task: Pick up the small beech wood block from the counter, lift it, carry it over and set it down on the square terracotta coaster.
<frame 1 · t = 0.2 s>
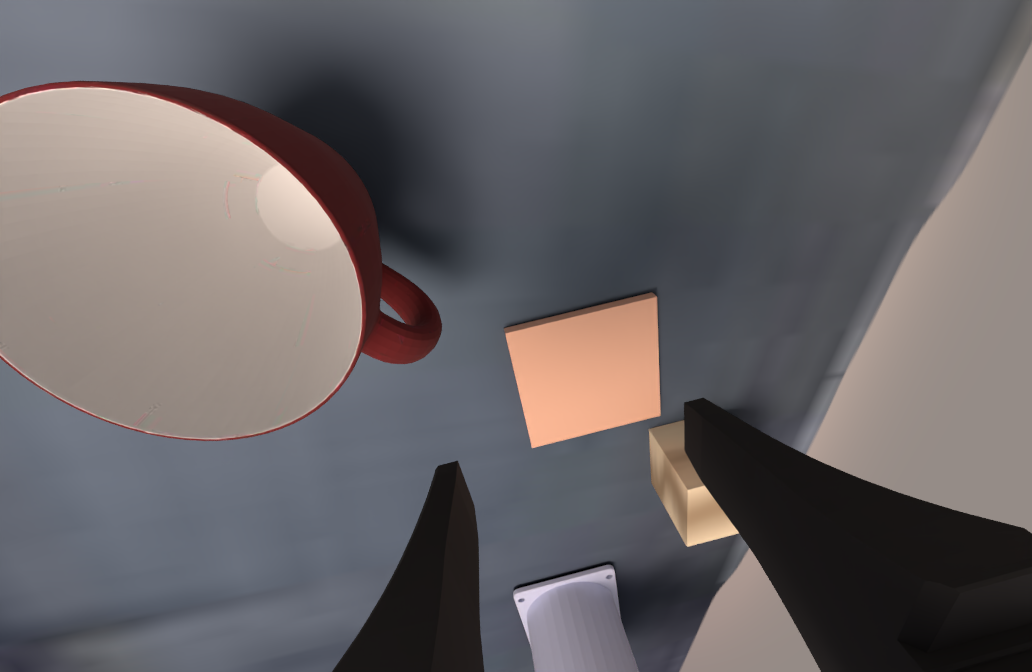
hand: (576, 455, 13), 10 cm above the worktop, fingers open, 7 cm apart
block: (685, 447, 28), on the worktop
coaster: (586, 372, 24), on the worktop
mug: (337, 220, 18), on the worktop
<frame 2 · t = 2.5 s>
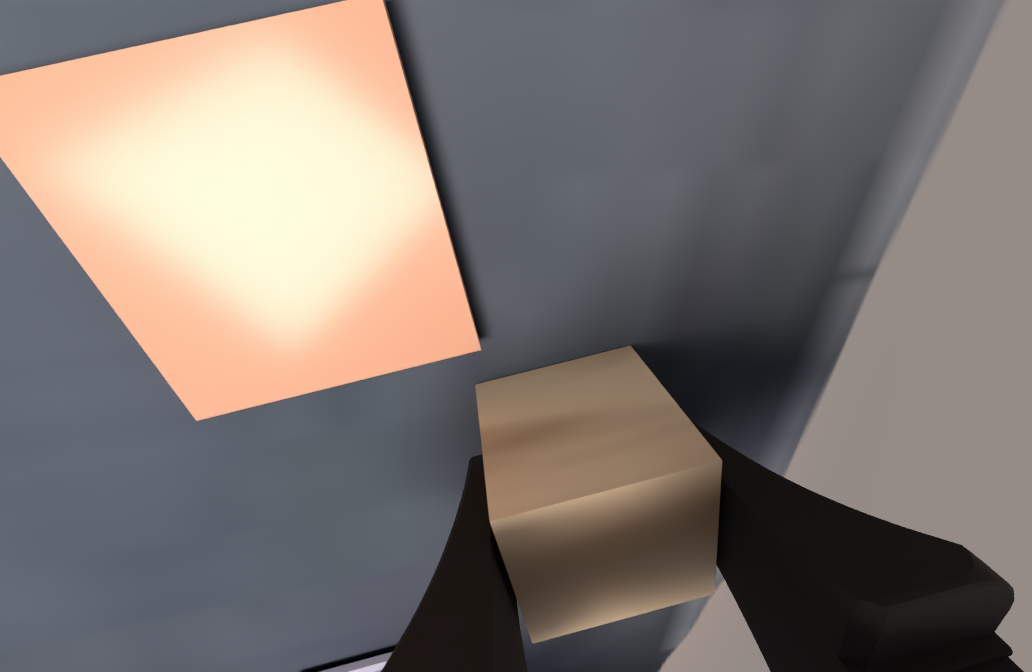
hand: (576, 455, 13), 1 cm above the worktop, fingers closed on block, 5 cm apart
block: (564, 425, 14), on the worktop, touching gripper
coaster: (280, 239, 10), on the worktop
when the fingers open (3 cm above the worktop, at t = 6.2 s): block drops 1 cm, resting on coaster.
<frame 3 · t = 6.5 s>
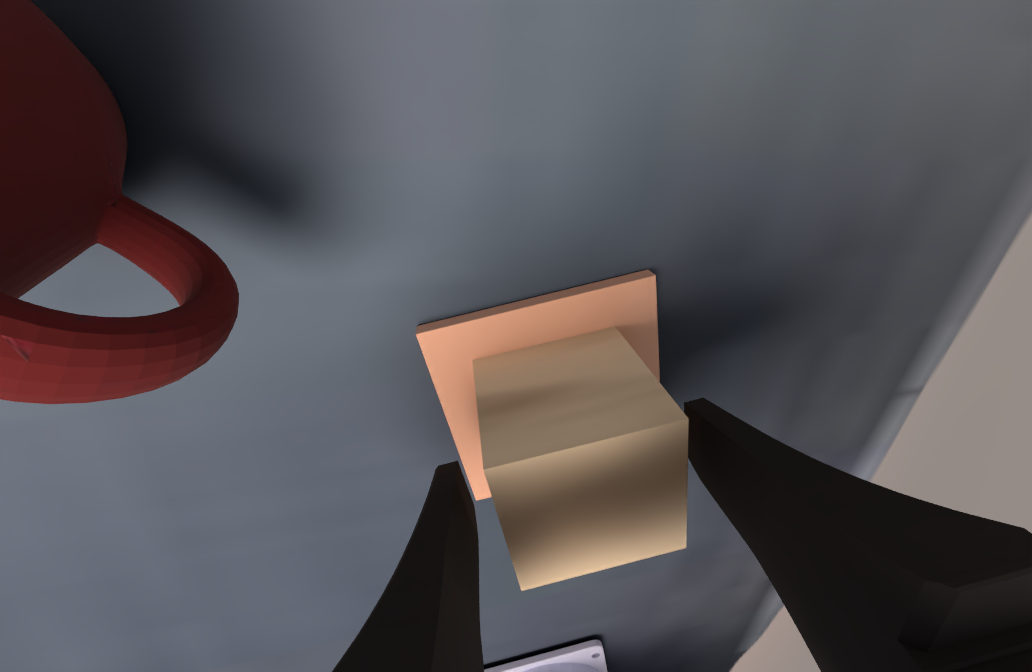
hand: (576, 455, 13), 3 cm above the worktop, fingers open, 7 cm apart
block: (554, 400, 15), point 1 cm above the worktop, touching coaster
coaster: (552, 391, 16), on the worktop
mug: (98, 138, 11), on the worktop
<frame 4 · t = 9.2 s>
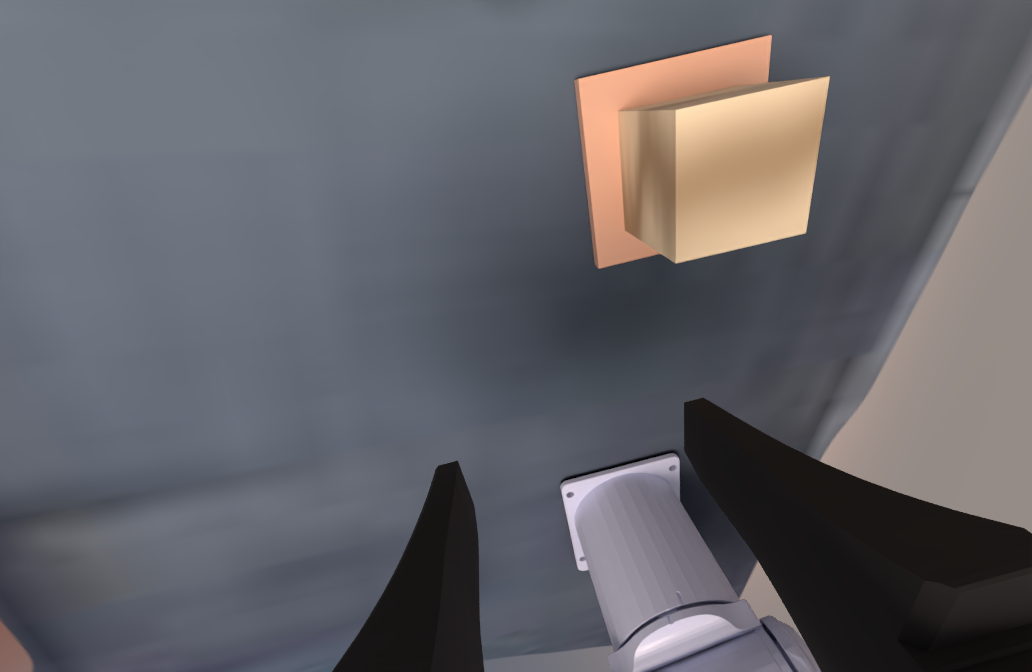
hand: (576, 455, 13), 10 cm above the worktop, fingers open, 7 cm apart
block: (675, 162, 19), point 1 cm above the worktop, touching coaster
coaster: (670, 161, 19), on the worktop
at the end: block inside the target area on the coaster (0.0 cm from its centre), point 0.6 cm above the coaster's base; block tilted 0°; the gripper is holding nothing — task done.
